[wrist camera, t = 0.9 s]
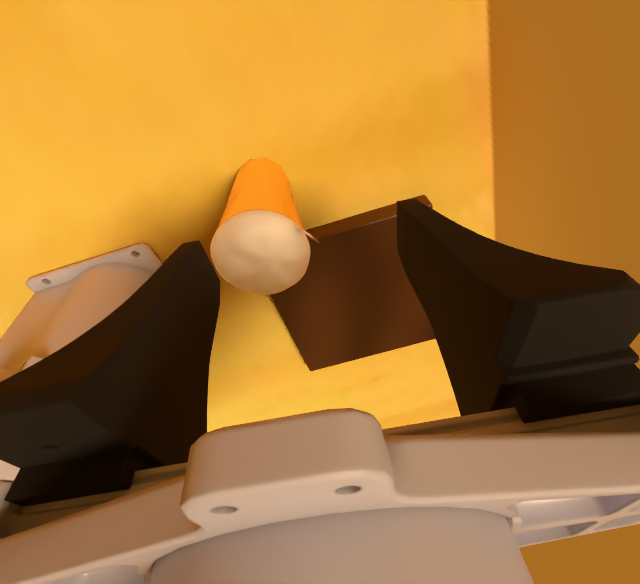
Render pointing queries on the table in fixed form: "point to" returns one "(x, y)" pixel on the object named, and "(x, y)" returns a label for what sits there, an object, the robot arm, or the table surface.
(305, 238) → the milkshake
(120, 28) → the table surface
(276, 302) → the board
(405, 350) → the table surface
